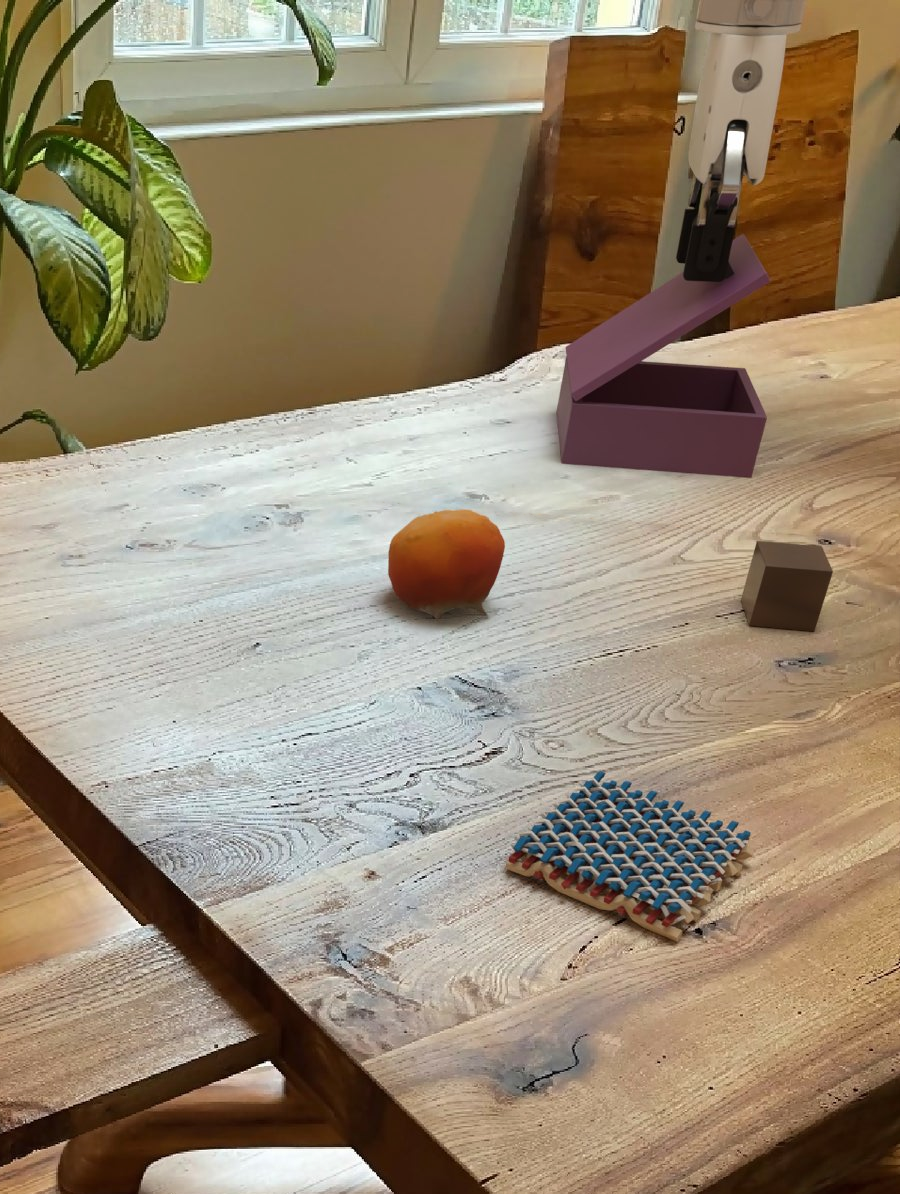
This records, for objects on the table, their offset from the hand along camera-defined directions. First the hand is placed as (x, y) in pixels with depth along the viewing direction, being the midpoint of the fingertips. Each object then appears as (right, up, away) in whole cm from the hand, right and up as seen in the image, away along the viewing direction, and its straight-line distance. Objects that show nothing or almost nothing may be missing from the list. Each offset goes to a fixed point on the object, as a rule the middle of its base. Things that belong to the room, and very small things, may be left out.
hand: (699, 269), depth 120 cm
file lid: (-2, -3, +3) cm, 5 cm away
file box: (-1, -12, +10) cm, 16 cm away
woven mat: (-18, -51, -39) cm, 67 cm away
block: (+1, -32, -14) cm, 35 cm away
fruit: (-24, -31, -13) cm, 41 cm away
